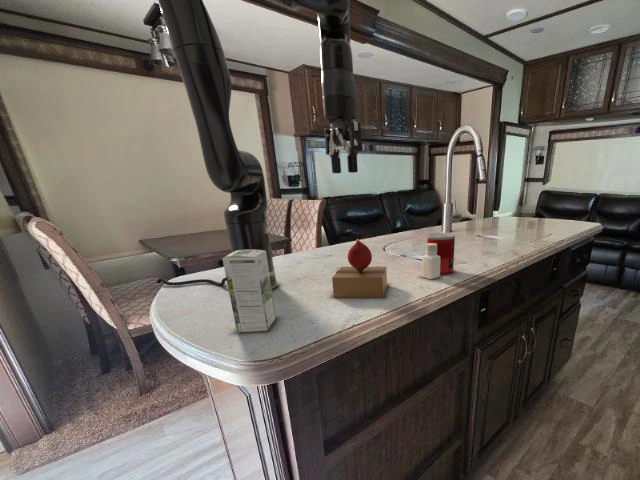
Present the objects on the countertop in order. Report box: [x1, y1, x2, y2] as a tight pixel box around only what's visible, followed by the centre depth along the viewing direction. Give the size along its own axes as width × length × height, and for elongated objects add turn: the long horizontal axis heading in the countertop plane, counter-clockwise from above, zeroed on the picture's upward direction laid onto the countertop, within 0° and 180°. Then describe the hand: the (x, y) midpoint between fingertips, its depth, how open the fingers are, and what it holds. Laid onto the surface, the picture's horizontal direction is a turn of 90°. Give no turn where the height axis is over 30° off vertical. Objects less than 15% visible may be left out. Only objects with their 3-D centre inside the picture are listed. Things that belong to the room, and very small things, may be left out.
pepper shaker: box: [421, 243, 441, 280], centre depth 89 cm, size 4×4×10 cm
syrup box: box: [222, 250, 277, 333], centre depth 59 cm, size 6×6×14 cm
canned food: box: [426, 232, 456, 276], centre depth 94 cm, size 8×8×11 cm
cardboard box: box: [331, 266, 388, 299], centre depth 79 cm, size 12×10×5 cm
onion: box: [347, 238, 373, 272], centre depth 77 cm, size 6×6×8 cm
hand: (344, 172), depth 78 cm, fingers open, 8 cm apart
